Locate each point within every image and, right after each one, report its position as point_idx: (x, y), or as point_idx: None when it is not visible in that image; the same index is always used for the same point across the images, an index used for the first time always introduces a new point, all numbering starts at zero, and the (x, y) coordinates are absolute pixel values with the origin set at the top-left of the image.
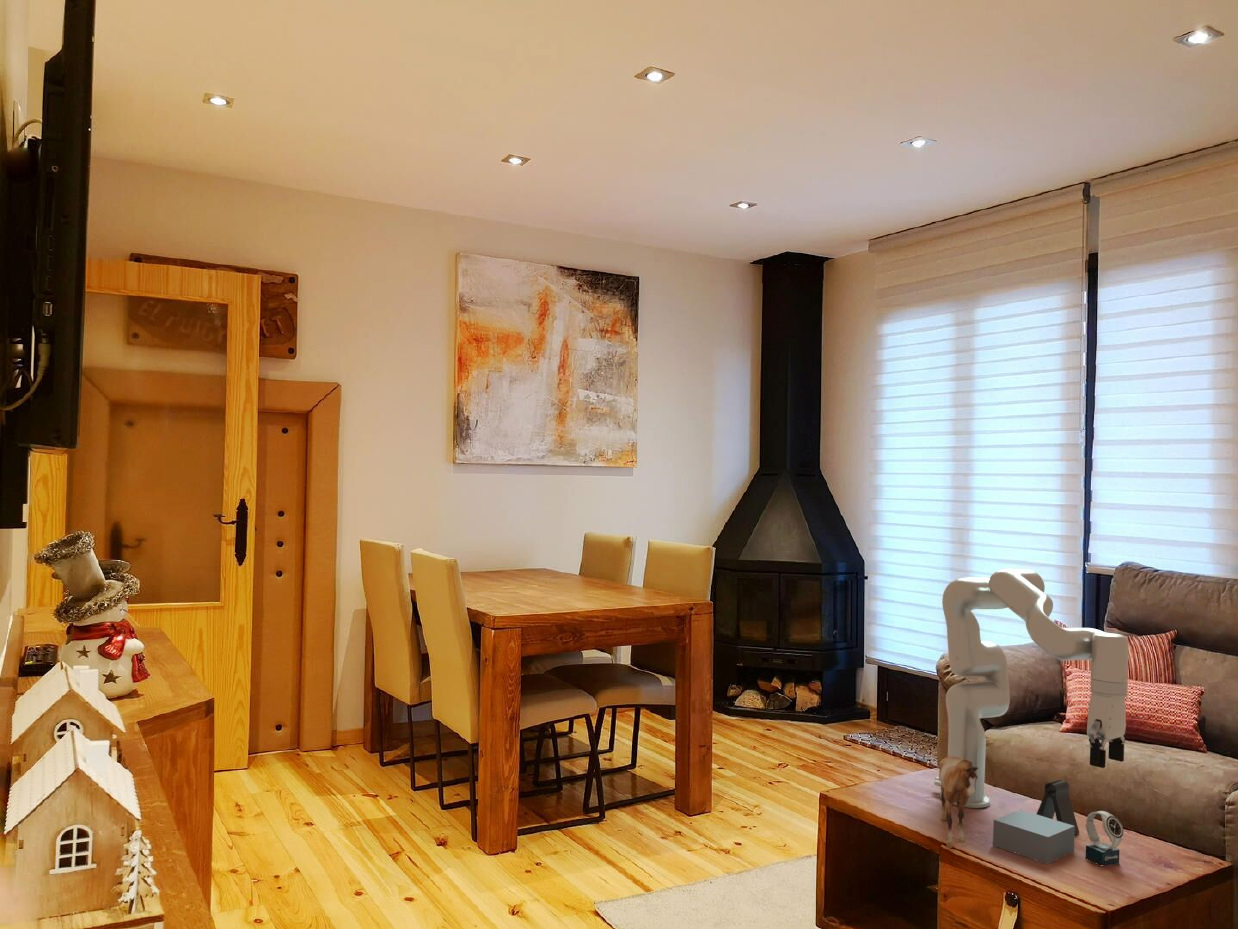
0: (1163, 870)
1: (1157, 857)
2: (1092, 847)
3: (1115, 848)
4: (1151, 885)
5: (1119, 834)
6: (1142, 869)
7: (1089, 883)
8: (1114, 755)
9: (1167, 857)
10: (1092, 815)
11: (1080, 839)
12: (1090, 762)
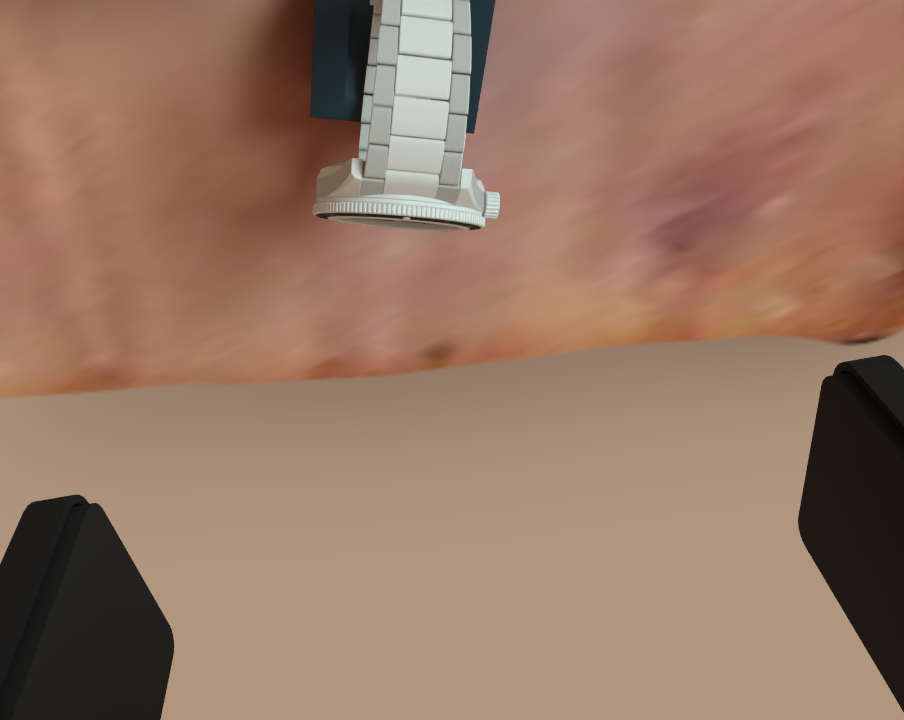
0: (593, 258)
1: (774, 140)
2: (324, 28)
3: (468, 110)
4: (337, 338)
5: (415, 223)
6: (504, 208)
7: (10, 210)
8: (847, 503)
9: (821, 163)
10: (421, 14)
11: None
12: (21, 537)
